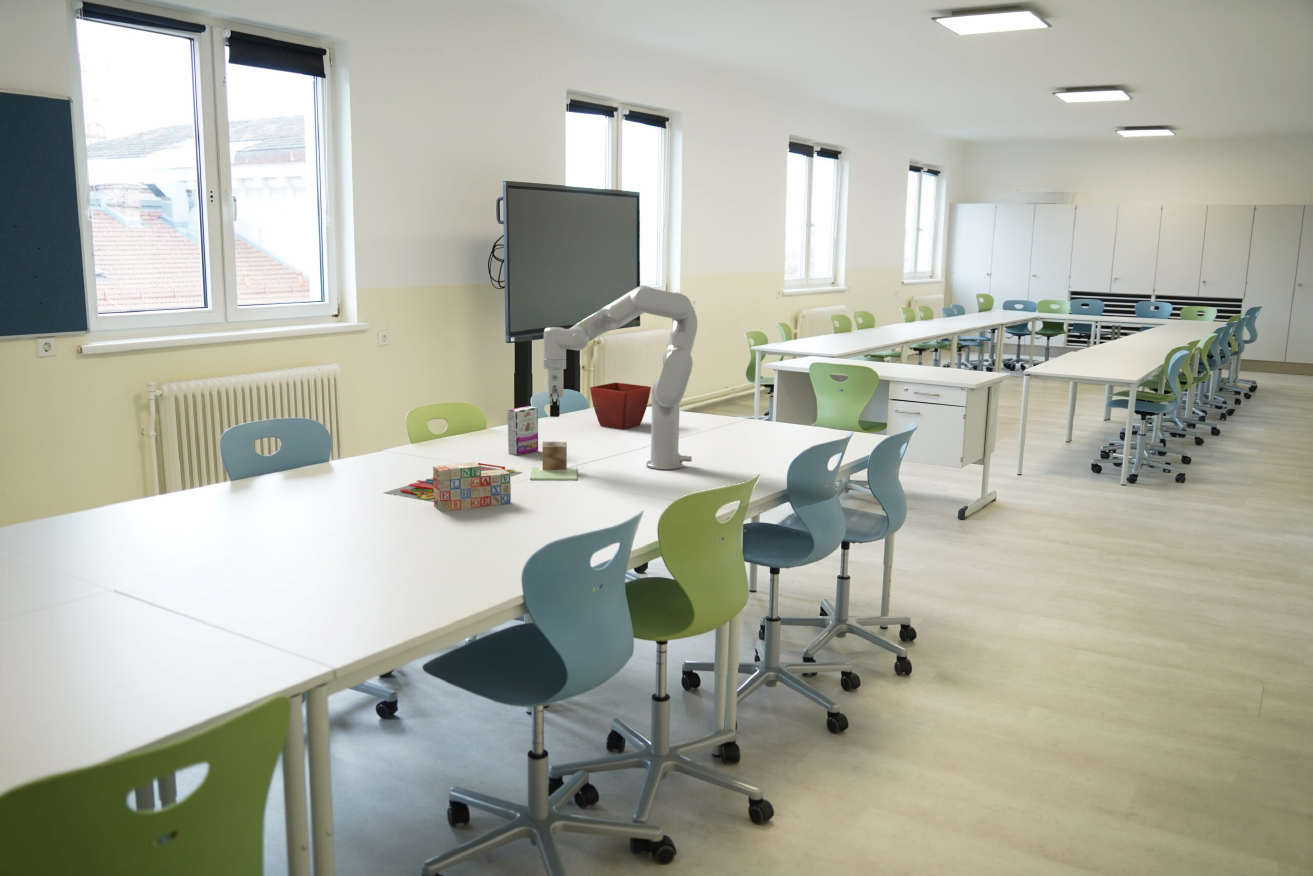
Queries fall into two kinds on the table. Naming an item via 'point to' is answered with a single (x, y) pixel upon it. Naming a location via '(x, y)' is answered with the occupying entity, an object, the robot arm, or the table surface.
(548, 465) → the walnut slab
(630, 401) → the plant pot
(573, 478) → the green mat
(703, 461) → the table surface
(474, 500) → the stack of blocks
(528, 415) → the candy bar box
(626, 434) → the table surface
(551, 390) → the robot arm
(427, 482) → the gear board
